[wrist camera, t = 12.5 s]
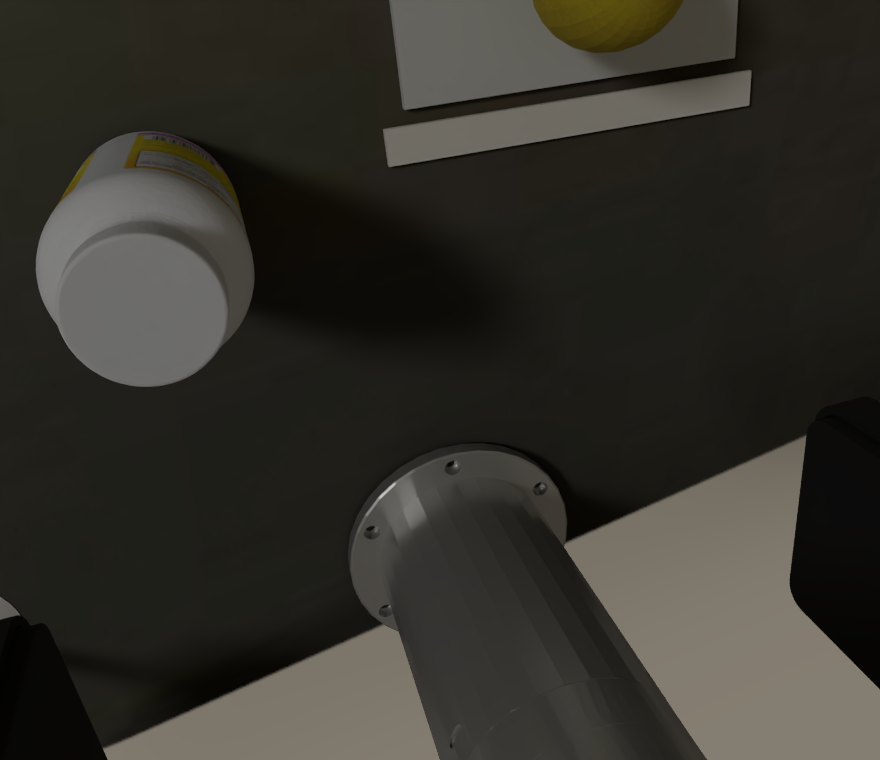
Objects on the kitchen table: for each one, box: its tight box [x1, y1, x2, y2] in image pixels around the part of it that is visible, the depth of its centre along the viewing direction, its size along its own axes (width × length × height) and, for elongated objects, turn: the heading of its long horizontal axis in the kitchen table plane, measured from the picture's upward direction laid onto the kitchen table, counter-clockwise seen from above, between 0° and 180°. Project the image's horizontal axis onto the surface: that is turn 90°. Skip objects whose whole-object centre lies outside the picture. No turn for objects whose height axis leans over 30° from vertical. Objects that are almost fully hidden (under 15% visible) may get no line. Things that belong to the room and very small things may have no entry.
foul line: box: [383, 70, 751, 167], centre depth 37 cm, size 2×18×1 cm, turn 96°
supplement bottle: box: [36, 131, 254, 387], centre depth 28 cm, size 7×7×13 cm
